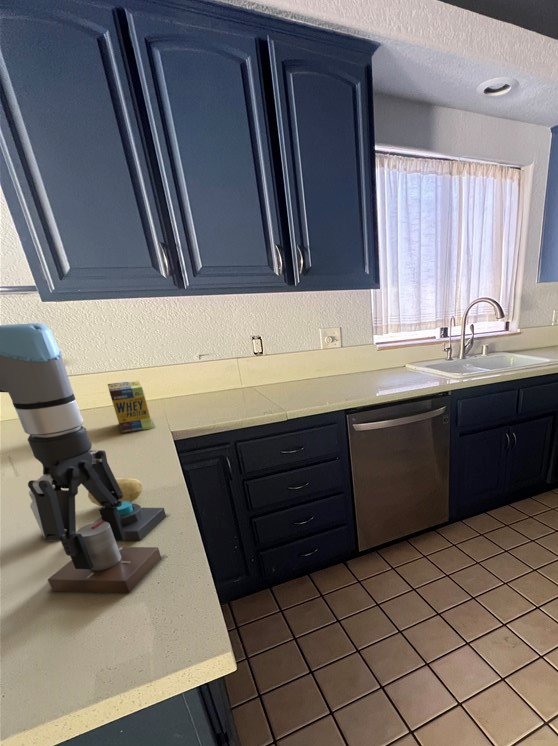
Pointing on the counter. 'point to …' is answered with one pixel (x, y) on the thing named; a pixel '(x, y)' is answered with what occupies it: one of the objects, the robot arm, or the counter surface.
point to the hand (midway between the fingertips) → (102, 552)
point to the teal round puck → (125, 508)
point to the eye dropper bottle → (36, 511)
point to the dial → (100, 544)
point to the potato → (125, 490)
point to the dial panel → (108, 573)
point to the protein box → (130, 406)
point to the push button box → (140, 521)
